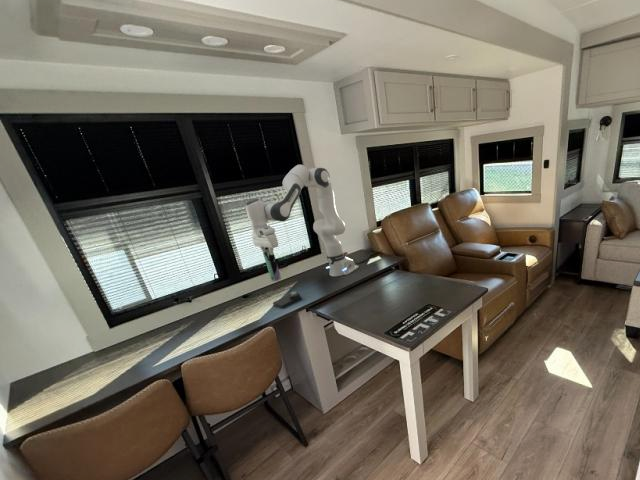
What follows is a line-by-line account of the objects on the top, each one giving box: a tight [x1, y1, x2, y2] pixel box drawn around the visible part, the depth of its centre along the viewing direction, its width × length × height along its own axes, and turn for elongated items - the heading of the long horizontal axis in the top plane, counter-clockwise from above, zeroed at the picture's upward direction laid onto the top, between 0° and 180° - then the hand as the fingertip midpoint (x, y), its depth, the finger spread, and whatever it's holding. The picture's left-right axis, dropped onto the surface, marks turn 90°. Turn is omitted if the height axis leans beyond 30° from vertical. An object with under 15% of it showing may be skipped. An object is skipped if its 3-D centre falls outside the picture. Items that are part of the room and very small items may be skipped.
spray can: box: [262, 247, 282, 282], centre depth 179 cm, size 6×6×20 cm
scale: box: [272, 291, 302, 310], centre depth 187 cm, size 14×11×4 cm
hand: (268, 254), depth 177 cm, fingers closed on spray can, 5 cm apart
